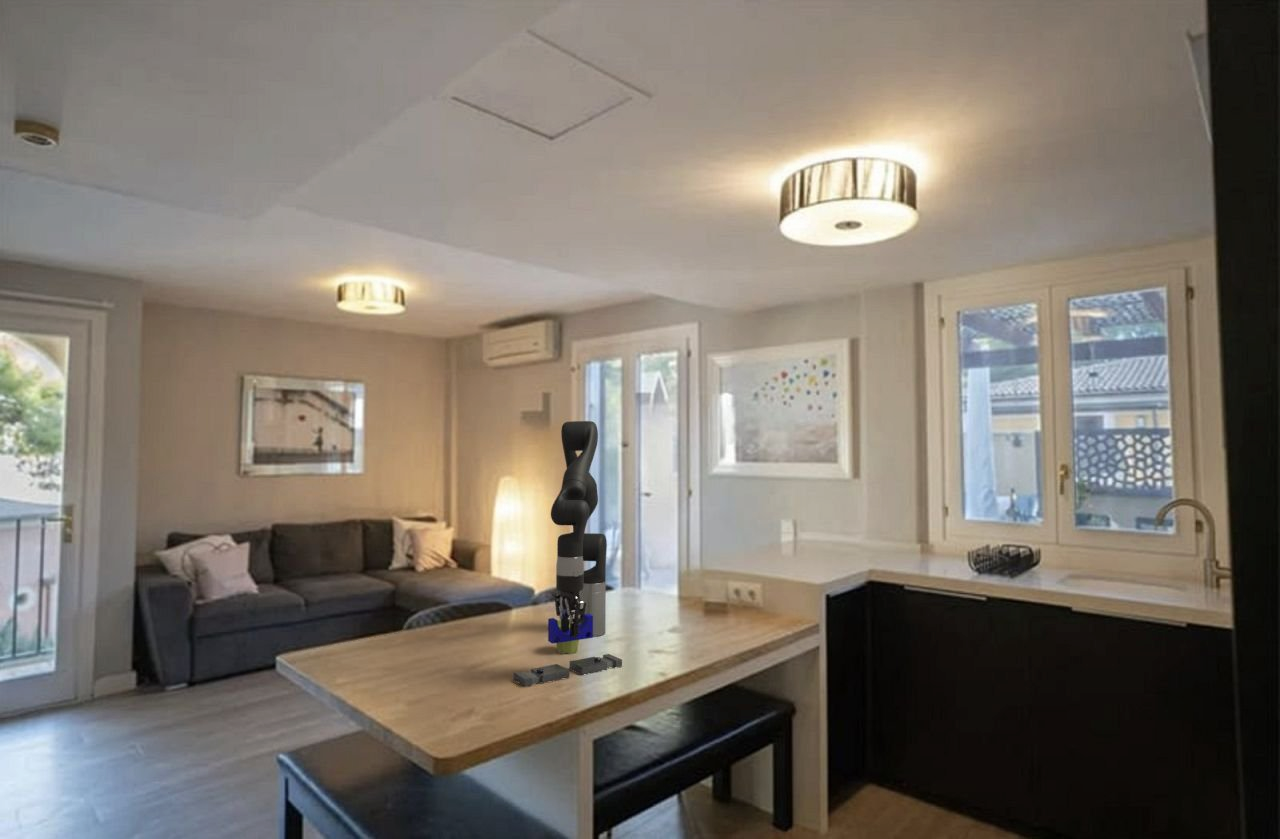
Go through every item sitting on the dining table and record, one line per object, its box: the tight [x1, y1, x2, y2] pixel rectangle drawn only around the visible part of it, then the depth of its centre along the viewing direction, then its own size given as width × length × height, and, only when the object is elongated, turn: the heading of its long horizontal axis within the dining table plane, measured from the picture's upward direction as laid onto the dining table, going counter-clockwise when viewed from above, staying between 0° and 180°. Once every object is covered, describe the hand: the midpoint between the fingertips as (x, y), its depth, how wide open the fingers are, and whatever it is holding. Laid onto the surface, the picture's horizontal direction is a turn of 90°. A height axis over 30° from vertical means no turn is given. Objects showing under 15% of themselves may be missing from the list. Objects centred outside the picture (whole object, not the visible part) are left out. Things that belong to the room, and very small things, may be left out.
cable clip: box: [547, 614, 594, 644], centre depth 191 cm, size 12×4×6 cm, turn 119°
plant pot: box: [556, 618, 582, 655], centre depth 212 cm, size 9×9×9 cm
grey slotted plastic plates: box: [513, 653, 623, 688], centre depth 191 cm, size 7×30×3 cm, turn 125°
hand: (569, 634), depth 191 cm, fingers closed on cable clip, 4 cm apart
